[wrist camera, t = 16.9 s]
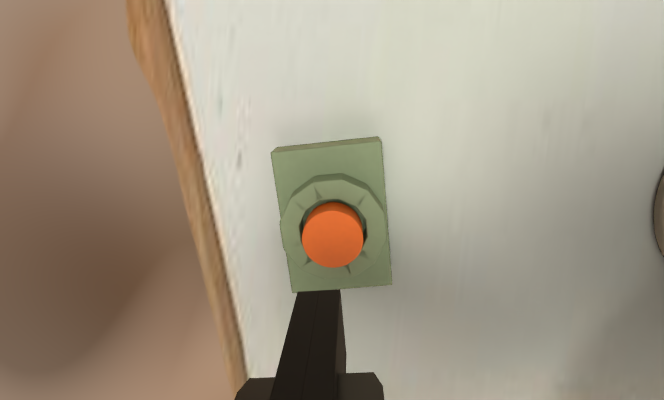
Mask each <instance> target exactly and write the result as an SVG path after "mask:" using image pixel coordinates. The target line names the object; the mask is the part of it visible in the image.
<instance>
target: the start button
mask: <svg viewBox="0 0 664 400" xmlns="http://www.w3.org/2000/svg"><path fill="white" fill-rule="evenodd" d="M302 244H303V248H304V250H305V252H306V254H307V255H308V256H309V257H310V259H312V260H313V261H314V262H316V263H317V264H319V265H322V266H325V267H331V268H336V267H341V266H344V265H347V264H349V263H350V262H352V261H353V260H354V259H355V258H356V257H357V256H358V255H359V253H360V251H361V249H362V246H363V230H362V223H361V220H360V218H359V216H358V215H357V213H356V212H355V211H354V210H353V209H352V208H350V207H349V206H347V205H345V204H342V203H338V202H329V203H324V204H322V205H319V206H318V207H316V208H315V209H313V210H312V212H311V213H310V214H309V215H308V217H307V220H306V222H305V226H304V229H303V233H302Z"/></svg>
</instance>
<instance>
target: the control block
mask: <svg viewBox="0 0 664 400" xmlns="http://www.w3.org/2000/svg"><path fill="white" fill-rule="evenodd" d="M271 159H272V165H273V172H274V178H275V185H276V191H277V197H278V204H279V210H280V217H281V220H280V230H281V236H282V242H283V248H284V250H285V251H286V255H287V262H288V268H289V274H290V281H291V287H292V293H298V292H299V291H317V290H334V289H347V288H359V287H371V286H383V285H392V276H391V263H390V249H389V236H388V223H387V209H386V196H385V183H384V169H383V156H382V143H381V140H380V139H379V137H369V138H360V139H351V140H341V141H332V142H322V143H313V144H303V145H294V146H285V147H277V148H275V149H274V150H273V151H272V152H271ZM329 202H338V203H342V204H345V205H347V206H349V207H350V208H352V209H353V210H354V211H355V212H356V213H357V215H358V216H359V218H360V220H361V223H362V230H363V246H362V249H361V251H360V253H359V255H358V256H357V257H356V258H355V259H354V260H353V261H352V262H350V263H349V264H347V265H344V266H341V267H336V268H331V267H325V266H322V265H319V264H317V263H316V262H314V261H313V260H312V259H310V257H309V256H308V255H307V254H306V252H305V250H304V248H303V244H302V233H303V229H304V226H305V222H306V220H307V217H308V215H309V214H310V213H311V212H312V210H313V209H315V208H316V207H318V206H319V205H322V204H324V203H329Z"/></svg>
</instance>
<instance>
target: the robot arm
mask: <svg viewBox="0 0 664 400" xmlns="http://www.w3.org/2000/svg"><path fill="white" fill-rule="evenodd" d="M654 230H655V235H656V240H657V243H658V246H659V248H660V250H661V252H662V255H663V257H664V175H663V177H662V179H661V182H660V185H659V188H658V191H657V195H656V200H655V206H654ZM235 400H384V395H383V386H382V384H381V383H380V381H379V380H378V378H377V377H376V375H375V373H374V372H368V373H346V346H345V336H344V326H343V315H342V305H341V294H340V289H335V290H317V291H299V292H298V293H297V297H296V301H295V304H294V308H293V312H292V316H291V320H290V323H289V327H288V331H287V335H286V339H285V343H284V346H283V350H282V354H281V358H280V362H279V365H278V369H277V373H276V377H272V378H249V380H248V381H247V382H246V383H245V384H244V385H243V387H242V388H241V389H240V390H239V391H238V392H237V395H236V397H235Z"/></svg>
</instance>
